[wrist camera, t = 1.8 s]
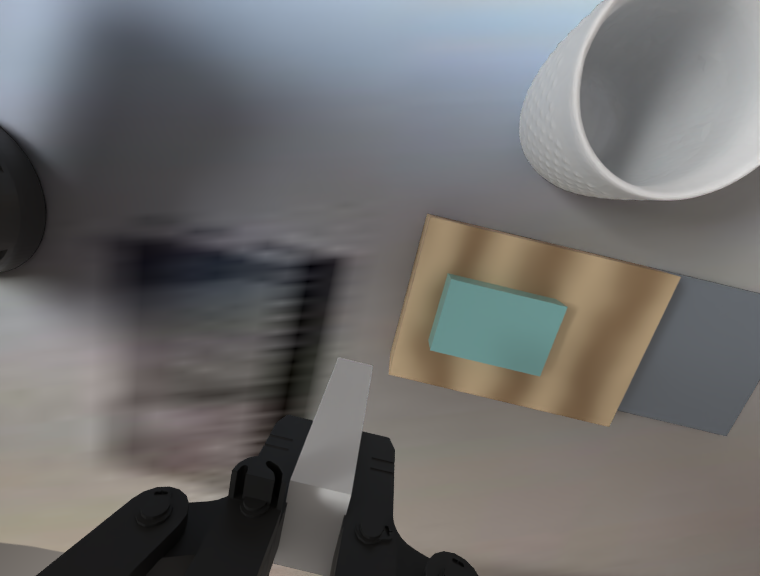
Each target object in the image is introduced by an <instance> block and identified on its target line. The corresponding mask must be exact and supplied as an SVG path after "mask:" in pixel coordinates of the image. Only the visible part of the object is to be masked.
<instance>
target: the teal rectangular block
mask: <svg viewBox="0 0 760 576" xmlns="http://www.w3.org/2000/svg"><path fill="white" fill-rule="evenodd" d="M566 310H567V306H565V305H564V304H563V303H561V302H560V301H558V300H557V299H553V298H549V297H545V296H541V295H536V294H532V293H528V292H524V291H520V290H516V289H511V288H507V287H503V286H499V285H495V284H491V283H486V282H482V281H478V280H474V279H470V278H466V277H461V276H457V275H453V274H449V273H448V274H447V278H446V281H445V285H444V288H443V292H442V295H441V298H440V302H439V305H438V309H437V312H436V315H435V319H434V322H433V326H432V329H431V333H430V336H429V339H428V341H429V347H430V350H431V351H435V352H439V353H443V354H447V355H452V356H456V357H460V358H464V359H468V360H473V361H477V362H481V363H485V364H489V365H494V366H498V367H502V368H506V369H510V370H515V371H519V372H523V373H527V374H531V375H536V376H540V375H541V373H542V370H543V368H544V365H545V363H546V360H547V358H548V355H549V353H550V350H551V348H552V345H553V343H554V340H555V338H556V335H557V333H558V330H559V328H560V325H561V323H562V320H563V318H564V315H565V313H566Z"/></svg>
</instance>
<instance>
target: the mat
mask: <svg viewBox="0 0 760 576" xmlns="http://www.w3.org/2000/svg"><path fill="white" fill-rule="evenodd" d="M650 268H651V267H650ZM654 269H655V268H654ZM657 270H659V269H657ZM660 271H663V272H667V273H670V274H673V275H677V276H680V277H681V278H680V280H679V282H678V284H677V286H676V289H675V291H674V293H673V295H672V297H671V299H670V301H669V303H668V305H667V307H666V309H665V311H664V314H663V316H662V318H661V320H660V322H659V324H658V326H657V328H656V330H655V332H654V334H653V336H652V339H651V341H650V343H649V345H648V347H647V349H646V351H645V353H644V355H643V357H642V359H641V362H640V364H639V366H638V368H637V370H636V372H635V374H634V376H633V378H632V380H631V382H630V384H629V387H628V389H627V391H626V393H625V395H624V397H623V399H622V401H621V403H620V405H619V407H618V409H617V410H618V411H623V412H627V413H631V414H635V415H639V416H644V417H648V418H652V419H656V420H660V421H665V422H669V423H673V424H677V425H681V426H686V427H690V428H694V429H698V430H702V431H707V432H711V433H715V434H719V435H723V436H727V434H728V433H729V431H730V429H731V428H732V426H733V424H734V423H735V421H736V419H737V418H738V416H739V414H740V413H741V411H742V409H743V407H744V406H745V404H746V402H747V401H748V399H749V397H750V396H751V394H752V392H753V391H754V389H755V387H756V385H757V384H758V382H759V380H760V294H759V293H755V292H751V291H747V290H743V289H739V288H734V287H730V286H726V285H722V284H718V283H714V282H709V281H705V280H701V279H697V278H693V277H689V276H684V275H680V274H676V273H672V272H668V271H664V270H660Z"/></svg>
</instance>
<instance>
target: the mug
mask: <svg viewBox="0 0 760 576" xmlns="http://www.w3.org/2000/svg"><path fill="white" fill-rule="evenodd" d="M519 127H520V128H519V138H520V144H521V146H522V150H523V151H524V155H525V156H526V157H527V160H528V161H529V163H530V165H532V167H533V168H534V170H535V171H537V172H538V173H539V175H541V176H542V177H543V178H545V179H546V180H547V181H549V182H550V183H553V185H555V186H557V187H561V188H562V189H564V190H566V191H571V192H573V193H576V194H583V195H585V196H588V197H591V196H594V197H597V198H608V199H612V200H614V199H621V200H639V201H644V200H658V201H674V200H685V199H690V198H695V197H698V196H702V195H706V194H709V193H712V192H715V191H717V190H720V189H722V188H724V187H726V186H728V185H730V184H732V183H734V182H736V181H738V180H739V179H741V178H743V177H744V176H746V175H748V174H749V173H750V172H752V171H753V170H754V169H756V168H757V167H758V166H760V0H604V1H603V2H601V3H600V4H599V5H597V6H596V7H595V9H594V10H593V11H592V12H591V13H590V14H589V15H588V16H586V17H585V18H584V19H582V21H581V22H580V23H579V25H578V26H577V27H576V28H574V29H573V30H572V31H571V32H570V33H569V34H568V35H567V37H566V38H565V39H564V40H563V41H562V42H560V43H559V44H558V46H557V47H556V49H555V50H554V51H553V52H552V53H551V54H550V55H549V57H548V59H547V61H546V62H545V63H544V64H543V65H542V66H541V68H540V69H539V71H538V74H537V75H536V76H535V78H534V79H533V81H532V84H531V86H530V88H529V89H528V91H527V95H526V97H525V100H524V101H523V107H522V109H521V113H520V122H519Z"/></svg>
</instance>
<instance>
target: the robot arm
mask: <svg viewBox="0 0 760 576" xmlns="http://www.w3.org/2000/svg"><path fill="white" fill-rule="evenodd" d="M45 219H46V211H45V201H44V196H43V192H42V188H41V185H40V182H39V180H38V177H37V175H36V173H35V171H34V169H33V167H32V165H31V163H30V161H29V160H28V158H27V157H26V155H25V154H24V152H23V151H22V150H21V148H20V147H19V146H18V145H17V144H16V142H15V141H14V140H13V139H12V138H11V137H10V136H9V135H8V134H7V133H6V132H5V131H3V130H2V129H1V128H0V272H4V271H8V270H11V269H13V268H16V267H18V266H19V265H21V264H23V263H24V262H25V261H27V260H28V259H29V258H30V257H31V256H32V254H33V253H34V252H35V250H36V249H37V247H38V246H39V244H40V241H41V239H42V236H43V232H44V228H45ZM372 369H373V365H369V364H365V363H361V362H357V361H353V360H349V359H344V358H340V357H338V359H337V361H336V364H335V367H334V369H333V372H332V374H331V377H330V379H329V382H328V385H327V387H326V390H325V392H324V395H323V397H322V400H321V402H320V405H319V408H318V410H317V413H316V415H315V418H314V420H313V421H312V420H308V419H304V418H300V417H296V416H291V415H286V416H285V417H284V418H282V419H281V420H280V421H278V422H277V423H276V425H275V426H274V428H273V430H272V432H271V434H270V436H269V437H268V439H267V441H266V443H265V446H263V448H262V450H261V452H260V454H259V456H255V457H250V458H247V459H245V460H243V461H241V462H240V463H238V464H237V465H236V467H235V468H234V469H233V470H232V474H231V481H230V488H229V495H228V496H227V497H225V498H222V499H219V500H214V501H208V502H192V503H189V502H188V499H187V496H186V495H185V494H184V493H183V492H182V491H181V490H180V489H176V488H173V487H156V488H153V489H150V490H147V491H144V492H142V493H141V494H139V495H137V496H136V497H134V498H133V499H131V500H130V501H129V502H127V503H126V504H125V505H124V506H122V507H121V508H120V509H119V510H117V511H116V512H115V513H114V514H112V515H111V516H110V517H109V518H107V519H106V520H105V521H104V522H102V523H101V524H100V525H99V526H97V527H96V528H95V529H94V530H92V531H91V532H90V533H89V534H87V535H86V536H85V537H84V538H82V539H81V540H80V541H79V542H77V543H76V544H75V545H74V546H72V547H71V548H70V549H69V550H67V551H66V552H65V553H64V554H63V555H61V556H60V557H59V558H57V559H56V560H55V561H54V562H52V563H51V564H50V565H49V566H47V567H46V568H45V569H44V570H43V571H41V572H40V573H39V574H38V575H36V576H269V572H270V570H271V567H272V564H273V561H274V564H277V565H282V566H286V567H290V568H294V569H298V570H303V571H307V572H311V573H315V574H319V575H323V576H478V575H477V573H476V571H475V569H474V568H473V567H472V566H471V565H470V564H469V563H468V562H467V561H466V560H465V559H463V558H462V557H460V556H458V555H456V554H455V553H450V552H445V551H443V552H439V553H435V554H434V555H433V556H432V557H431V558H428V557H426V556H425V555H423V554H421V553H420V552H418V551H416V550H415V549H413V548H412V547H410V546H409V545H408V544H407V543H406V542H405V541H404V540H403V539H402V538H401V537H400V535H399V533H398V532H397V530H396V528H395V525H394V520H393V497H394V463H395V449H394V447H393V445H392V443H391V441H390V438H388V437H384V436H379V435H375V434H371V433H367V432H363V431H362V429H363V423H364V417H365V411H366V405H367V399H368V393H369V387H370V381H371V375H372ZM274 558H275V559H274Z"/></svg>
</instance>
